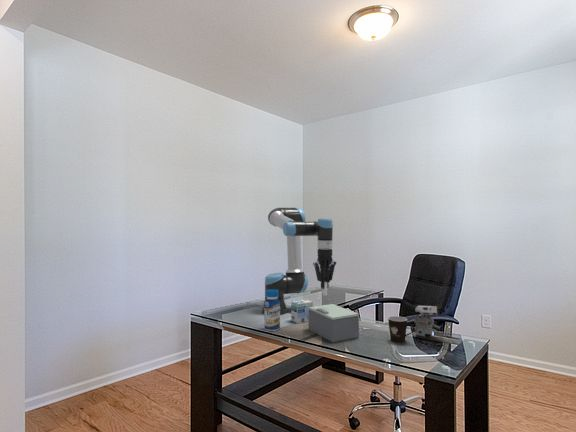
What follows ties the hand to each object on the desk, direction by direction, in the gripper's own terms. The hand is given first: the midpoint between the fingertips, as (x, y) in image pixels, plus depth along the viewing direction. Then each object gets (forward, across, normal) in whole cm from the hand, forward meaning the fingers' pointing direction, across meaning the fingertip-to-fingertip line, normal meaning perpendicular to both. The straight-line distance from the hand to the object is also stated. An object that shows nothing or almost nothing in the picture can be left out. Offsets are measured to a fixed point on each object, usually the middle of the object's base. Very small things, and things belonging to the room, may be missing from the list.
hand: (324, 294), depth 176 cm
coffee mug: (+18, +22, -30) cm, 41 cm away
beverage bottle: (+19, -23, +14) cm, 33 cm away
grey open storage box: (+18, +1, -6) cm, 19 cm away
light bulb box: (+19, -2, +20) cm, 28 cm away
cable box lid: (+8, +1, -5) cm, 10 cm away
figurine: (+18, +38, -32) cm, 53 cm away
